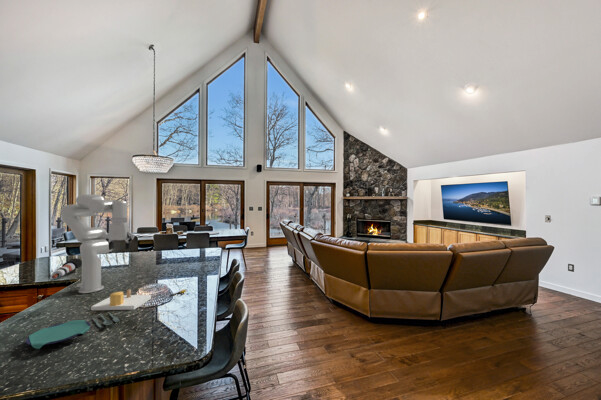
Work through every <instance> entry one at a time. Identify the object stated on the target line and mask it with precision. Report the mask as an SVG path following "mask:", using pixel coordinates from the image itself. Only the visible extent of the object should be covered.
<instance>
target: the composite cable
mask: <svg viewBox="0 0 601 400" xmlns="http://www.w3.org/2000/svg"><path fill="white" fill-rule="evenodd" d="M187 291H188V289H185V288H184V289H180V290H179V291H177V292H176V293H173V294H172V293H171V294H170V297H174V296H176V294H177V295H181V294H180V293H183V294H185V293H186V292H187ZM184 292H185V293H184Z"/></svg>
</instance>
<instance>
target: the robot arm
mask: <svg viewBox="0 0 601 400" xmlns="http://www.w3.org/2000/svg"><path fill="white" fill-rule="evenodd" d="M97 213H98V214H102V213H103V214H105V213H107V214H108V213H110V214H111V218H110V220H109V221H110V222H111V223H110V225H109V228H108V232H107V230H106V229H105V228H104V227H101V226H96V227H95V226H94V227H90V226H89V225H88V224H87V222H86V221H84V220H83V219H81V218H84V217H93V216H94V215H96V214H97ZM60 216H61V218H62V219H61V220H62V221H63V222H64V223H65V225H67V227H68V228H69V229H70V230H71V232H72V234H73V236H74V237H75V239H76V241H77V242H79V243H81V244H80V246H79V252H80V256H81V261H82V266H81V283H77V284H76V286H75V288H79V289H78V293H79V294H90V293H96V292H99V291H101V290H103V289H105V285H103V284H102V261H101V258H100V257H99V256H98V255H102V254H108V253H110V252H112V251H113V250H114V248H115V246H114V245H115V243H114V241H125V242H126V243H125V244H124V245H125V250H130V249H131V243H132V241H133V240H134V238H135V237H136V235H135V234H133V233H132V232H130V231H131V229H130V225H129V223H128V202H127V201H126V200H116V199H114V200H109V199H107V200H106V199H105V198H104V197H103V195H100V194H91V193H90V194H87V193H84V194H81V195H78V196H77V197H76V199H75V204H66V205H64V206H63V207H61V210H60Z"/></svg>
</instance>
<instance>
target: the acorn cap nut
mask: <svg viewBox="0 0 601 400" xmlns="http://www.w3.org/2000/svg"><path fill="white" fill-rule="evenodd" d="M124 295H125V293H124V291H115V292H112V293H111V292H110V294H109V297H110V306H117V305H121V304H123V303H124Z"/></svg>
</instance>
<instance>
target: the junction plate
mask: <svg viewBox="0 0 601 400" xmlns="http://www.w3.org/2000/svg"><path fill="white" fill-rule="evenodd" d="M151 299H152V294H132V289H126V294H124V303H123V304H121V305H117V306H110V296H109V297H107V298H105V299H103V300H101V301H99V302H97V303H95V304H93V305H92V306H90V310H91V311H120V310H121V311H123V310H126V311H128V310H136V309H137V308H139V307H140V306H142V305H143V304H144V303H146V302H147V301H149V300H151Z"/></svg>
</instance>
